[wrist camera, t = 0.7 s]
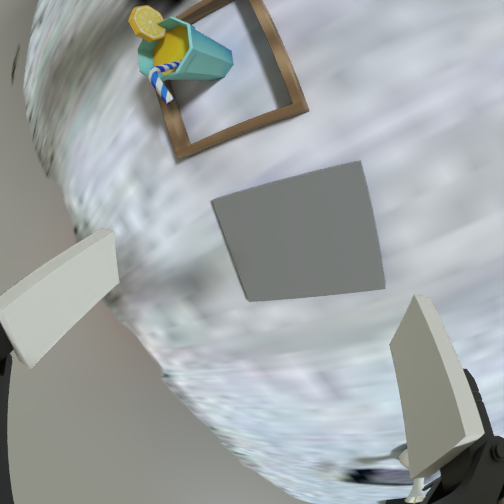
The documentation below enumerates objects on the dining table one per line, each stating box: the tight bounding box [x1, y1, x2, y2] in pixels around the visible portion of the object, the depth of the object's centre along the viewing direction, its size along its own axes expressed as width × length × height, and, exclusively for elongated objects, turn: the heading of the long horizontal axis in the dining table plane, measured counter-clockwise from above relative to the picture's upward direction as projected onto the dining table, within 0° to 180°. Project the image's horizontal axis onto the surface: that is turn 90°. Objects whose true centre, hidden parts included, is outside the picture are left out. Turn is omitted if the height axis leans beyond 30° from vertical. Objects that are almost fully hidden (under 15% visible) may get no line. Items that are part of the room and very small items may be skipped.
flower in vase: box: [399, 449, 425, 504], centre depth 32 cm, size 13×11×25 cm
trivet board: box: [212, 160, 385, 302], centre depth 36 cm, size 16×20×1 cm
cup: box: [128, 5, 233, 105], centre depth 24 cm, size 14×8×15 cm, turn 30°
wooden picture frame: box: [141, 0, 309, 159], centre depth 29 cm, size 20×18×2 cm
